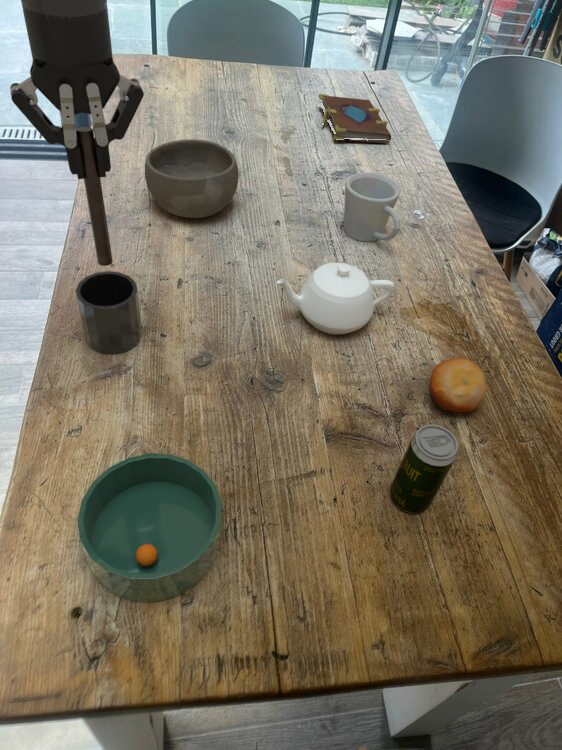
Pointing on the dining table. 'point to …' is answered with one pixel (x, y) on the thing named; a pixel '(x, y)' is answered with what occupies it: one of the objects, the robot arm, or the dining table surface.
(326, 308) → the teapot
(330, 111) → the book
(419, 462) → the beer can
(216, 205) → the bowl
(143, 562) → the ball
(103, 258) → the stick
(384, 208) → the mug
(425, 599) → the dining table surface
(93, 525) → the mixing bowl
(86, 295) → the crock
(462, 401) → the fruit
